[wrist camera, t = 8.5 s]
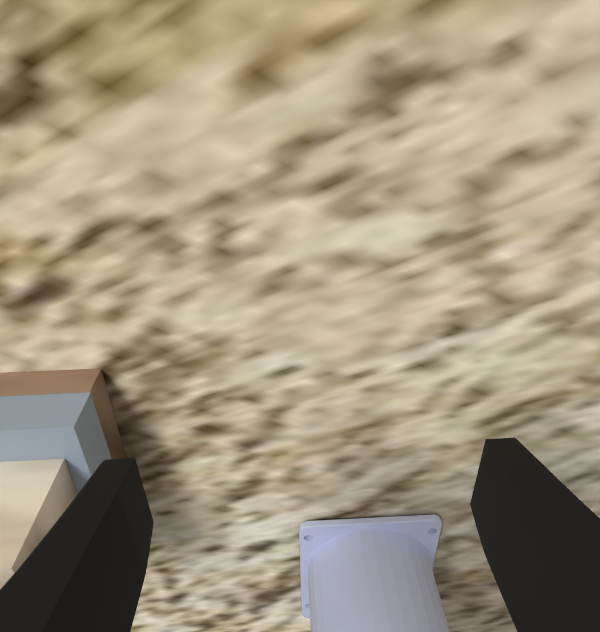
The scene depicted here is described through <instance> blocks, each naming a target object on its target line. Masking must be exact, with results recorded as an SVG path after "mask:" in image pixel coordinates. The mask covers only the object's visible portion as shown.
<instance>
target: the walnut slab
mask: <svg viewBox="0 0 600 632" xmlns="http://www.w3.org/2000/svg"><path fill="white" fill-rule="evenodd" d="M90 392H91V396H92V399H93V402H94V405H95V408H96V411H97V415H98V418H99V421H100V424H101V427H102V430H103V433H104V437H105V440H106V443H107V446H108V449H109V452H110V456H111V459H126V458H127V457H126V454H125V450H124V447H123V443H122V440H121V436H120V433H119V429H118V426H117V423H116V419H115V416H114V412H113V409H112V405H111V402H110V398H109V395H108V391H107V388H106V384H105V381H104V377H103V374H102V371H101V369H82V370H58V371H33V372H8V373H0V397H1V396H23V395H45V394H67V393H90Z"/></svg>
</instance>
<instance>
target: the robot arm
mask: <svg viewBox="0 0 600 632" xmlns="http://www.w3.org/2000/svg"><path fill="white" fill-rule="evenodd" d="M470 505H471V509H472V512H473V516H474V519H475V523H476V526H477V530H478V533H479V536H480V540H481V543H482V546H483V549H484V553H485V555H486V558H487V560H488V563H489V565H490V568H491V570H492V572H493V575H494V577H495V580H496V582H497V584H498V587H499V589H500V592H501V594H502V596H503V599H504V601H505V603H506V606H507V608H508V610H509V613H510V615H511V618H512V620H513V622H514V625H515V627H516V629H517V632H600V518H599V517H598V516H597V515H595V514H594V513H593V512H592V511H591V510H590V509H589V508H588V507H587V506H586V505H585V504H584V503H582V502H581V501H580V500H579V499H578V498H577V497H576V496H575V495H574V494H573V493H572V492H571V491H570V490H569V489H568V488H567V487H566V486H565V485H564V484H562V483H561V482H560V481H559V480H558V479H557V478H556V477H555V476H554V475H553V474H552V473H551V472H550V471H549V470H548V469H547V468H546V467H545V466H544V465H543V464H542V463H541V462H540V461H539V460H538V459H537V458H536V457H535V456H534V455H532V454H531V453H530V452H529V451H528V450H527V449H526V448H525V447H524V446H523V445H522V444H521V443H520V442H519V441H518V440H517V439H516V438H501V439H486V441H485V445H484V449H483V453H482V457H481V461H480V466H479V470H478V474H477V478H476V482H475V486H474V491H473V495H472V499H471V503H470ZM441 527H442V521H441V518H440V517H439V516H437V515H413V516H394V517H375V518H356V519H336V520H317V521H305V522H303V523H301V524H300V526H299V539H300V570H301V601H302V615H303V616H304V617H306V618H310V622H311V632H450V630H449V626H448V623H447V619H446V616H445V612H444V609H443V605H442V602H441V599H440V595H439V592H438V588H437V585H436V581H435V578H434V574H433V571H432V570H433V565H434V561H435V556H436V551H437V546H438V542H439V537H440V532H441ZM152 529H153V519H152V515H151V512H150V508H149V505H148V501H147V498H146V495H145V491H144V488H143V484H142V481H141V478H140V474H139V471H138V467H137V464H136V460H135V458H126V459H107V460H104V461H103V462H102V463H101V464H100V465H99V466H98V468H97V469H96V470H95V472H94V473H93V474H92V476H91V477H90V478H89V480H88V481H87V482H86V484H85V485H84V486H83V488H82V489H81V490H80V492H79V493H78V494H77V495H76V497H75V498H74V499H73V501H72V502H71V503H70V505H69V506H68V507H67V509H66V510H65V511H64V512H63V514H62V515H61V516H60V518H59V519H58V520H57V521H56V523H55V524H54V525H53V527H52V528H51V529H50V530H49V531H48V533H47V534H46V535H45V536H44V538H43V539H42V540H41V541H40V543H39V544H38V545H37V546H36V548H35V549H34V550H33V551H32V553H31V554H30V555H29V556H28V557H27V559H26V560H25V561H24V562H23V564H22V565H21V566H20V567H19V568H18V570H17V571H16V572H15V573H14V574H13V575H12V577H11V578H10V579H9V580H8V581H7V582H6V583H5V585H4V586H3V587H2V588H1V589H0V632H130V631H131V627H132V623H133V619H134V616H135V612H136V608H137V604H138V601H139V597H140V593H141V589H142V586H143V582H144V578H145V574H146V568H147V562H148V556H149V550H150V543H151V536H152Z"/></svg>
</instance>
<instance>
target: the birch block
mask: <svg viewBox="0 0 600 632" xmlns="http://www.w3.org/2000/svg"><path fill="white" fill-rule="evenodd" d="M77 494H78V492H77V490H76V487H75V484H74V482H73V479H72V477H71V474H70V472H69V469H68V467H67V464H66V462H65V459H47V460H26V461H5V462H0V589H1V588H2V587H3V586H4V585H5V583H6V582H7V581H8V580H9V579H10V578H11V577H12V575H13V574H14V573H15V572H16V571H17V570H18V568H19V567H20V566H21V565H22V564H23V562H24V561H25V560H26V559H27V557H28V556H29V555H30V554H31V553H32V551H33V550H34V549H35V548H36V546H37V545H38V544H39V543H40V541H41V540H42V539H43V538H44V536H45V535H46V534H47V533H48V531H49V530H50V529H51V528H52V527H53V525H54V524H55V523H56V521H57V520H58V519H59V518H60V516H61V515H62V514H63V512H64V511H65V510H66V509H67V507H68V506H69V505H70V503H71V502H72V501H73V499H74V498H75V497H76V495H77Z"/></svg>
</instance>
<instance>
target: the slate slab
mask: <svg viewBox="0 0 600 632" xmlns="http://www.w3.org/2000/svg"><path fill="white" fill-rule="evenodd" d="M47 459H65V462H66V464H67V467H68V469H69V472H70V474H71V477H72V479H73V482H74V484H75V487H76V490H77V492H78V493H79V492H80V490H81V489H82V488H83V486H84V485H85V484H86V482H87V481H88V480H89V478H90V477H91V476H92V474H93V473H94V472H95V470H96V469H97V468H98V466H99V465H100V464H101V463H102V462H103V461H104V460H107V459H111V456H110V452H109V449H108V446H107V443H106V440H105V437H104V433H103V430H102V427H101V424H100V421H99V418H98V415H97V411H96V408H95V405H94V402H93V399H92V396H91V392H90V393H67V394H45V395H23V396H1V397H0V462H5V461H26V460H47Z"/></svg>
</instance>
